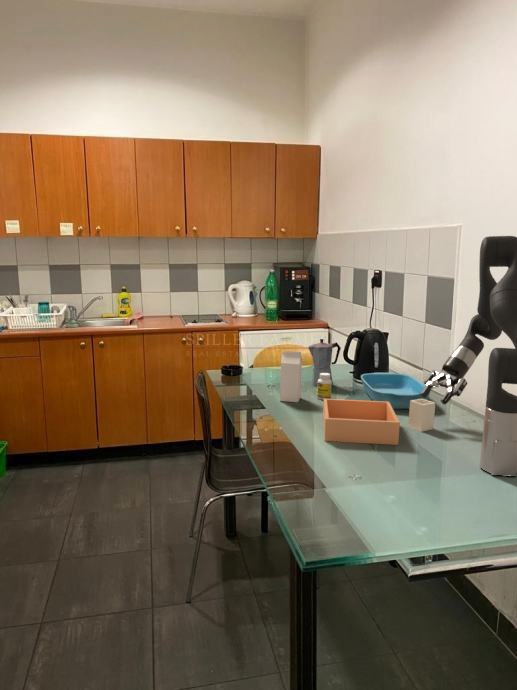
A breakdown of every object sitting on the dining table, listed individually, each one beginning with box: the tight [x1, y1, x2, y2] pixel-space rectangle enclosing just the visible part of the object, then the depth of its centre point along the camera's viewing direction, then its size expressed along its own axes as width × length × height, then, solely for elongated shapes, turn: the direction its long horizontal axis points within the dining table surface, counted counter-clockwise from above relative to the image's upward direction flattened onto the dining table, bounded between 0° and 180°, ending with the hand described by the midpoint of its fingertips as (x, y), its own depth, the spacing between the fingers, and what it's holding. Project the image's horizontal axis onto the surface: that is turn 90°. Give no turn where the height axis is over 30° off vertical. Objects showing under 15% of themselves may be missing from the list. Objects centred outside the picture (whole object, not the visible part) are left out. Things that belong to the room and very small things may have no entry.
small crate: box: [407, 399, 436, 433], centre depth 176 cm, size 6×6×9 cm
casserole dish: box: [360, 372, 431, 410], centre depth 209 cm, size 37×22×7 cm, turn 1°
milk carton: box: [279, 350, 303, 403], centre depth 204 cm, size 7×7×19 cm
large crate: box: [322, 398, 401, 446], centre depth 172 cm, size 22×22×7 cm
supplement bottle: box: [316, 373, 333, 401], centre depth 208 cm, size 5×5×10 cm
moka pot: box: [307, 338, 341, 387], centre depth 227 cm, size 10×15×20 cm, turn 115°
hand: (432, 399), depth 177 cm, fingers open, 8 cm apart
